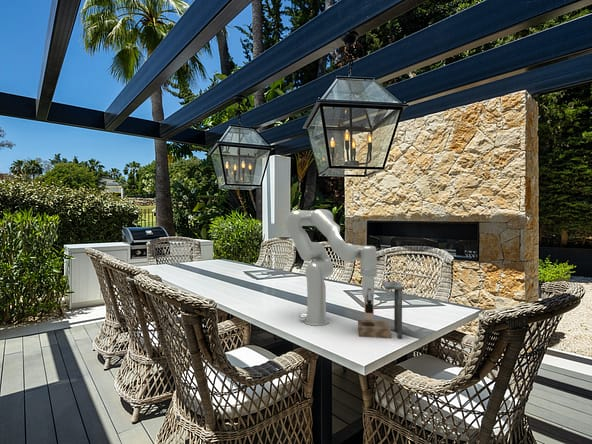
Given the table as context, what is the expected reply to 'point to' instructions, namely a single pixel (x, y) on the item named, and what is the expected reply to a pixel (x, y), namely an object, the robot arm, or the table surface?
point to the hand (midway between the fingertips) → (368, 311)
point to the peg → (367, 315)
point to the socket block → (382, 327)
